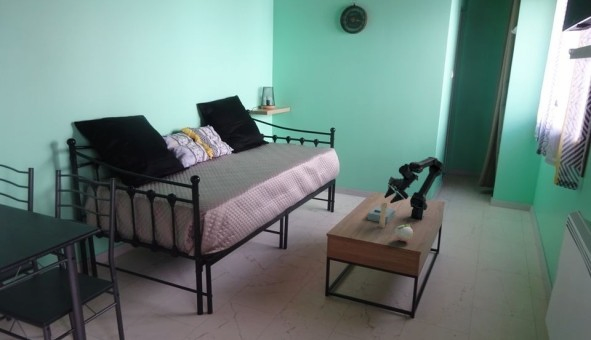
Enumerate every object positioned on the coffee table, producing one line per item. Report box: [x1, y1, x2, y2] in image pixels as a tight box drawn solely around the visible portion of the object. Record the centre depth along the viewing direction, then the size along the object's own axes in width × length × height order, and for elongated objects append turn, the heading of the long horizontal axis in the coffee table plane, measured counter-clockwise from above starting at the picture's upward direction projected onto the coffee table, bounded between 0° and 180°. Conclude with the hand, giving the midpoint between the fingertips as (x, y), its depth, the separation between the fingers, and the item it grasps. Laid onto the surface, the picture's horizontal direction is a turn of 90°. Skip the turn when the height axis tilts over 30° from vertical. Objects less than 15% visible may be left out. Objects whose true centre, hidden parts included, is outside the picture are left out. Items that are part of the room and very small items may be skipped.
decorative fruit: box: [394, 224, 414, 242], centre depth 211 cm, size 9×8×10 cm
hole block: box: [367, 205, 396, 224], centre depth 246 cm, size 12×16×4 cm
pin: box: [378, 202, 388, 229], centre depth 230 cm, size 3×3×14 cm
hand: (387, 200), depth 236 cm, fingers open, 9 cm apart
